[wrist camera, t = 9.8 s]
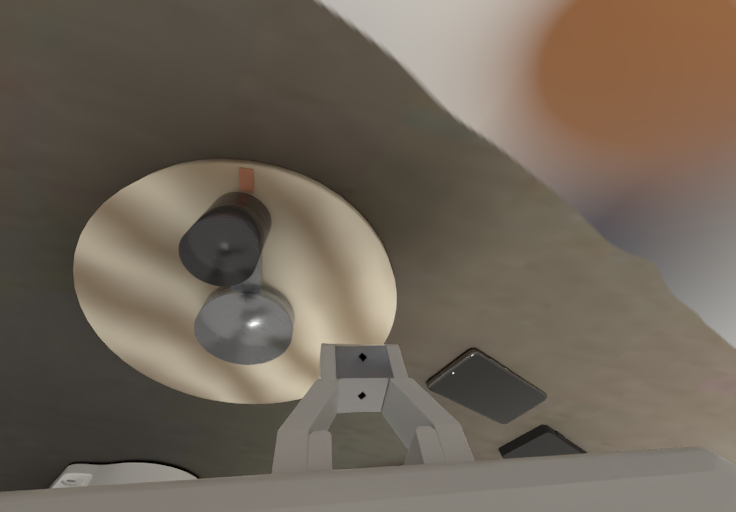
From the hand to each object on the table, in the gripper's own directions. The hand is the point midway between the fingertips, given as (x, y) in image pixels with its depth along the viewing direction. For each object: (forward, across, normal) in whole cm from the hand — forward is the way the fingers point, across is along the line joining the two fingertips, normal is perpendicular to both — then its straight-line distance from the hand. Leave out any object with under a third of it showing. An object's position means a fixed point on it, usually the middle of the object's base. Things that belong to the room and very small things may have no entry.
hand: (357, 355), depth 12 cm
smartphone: (+14, -20, +20) cm, 31 cm away
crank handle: (+11, +7, +4) cm, 14 cm away
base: (+13, +7, +8) cm, 17 cm away
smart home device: (+14, -37, +37) cm, 54 cm away
